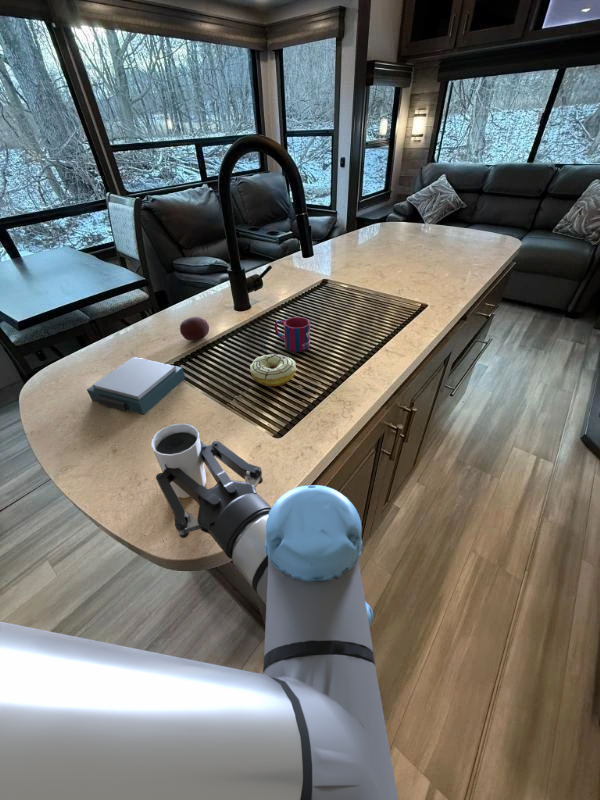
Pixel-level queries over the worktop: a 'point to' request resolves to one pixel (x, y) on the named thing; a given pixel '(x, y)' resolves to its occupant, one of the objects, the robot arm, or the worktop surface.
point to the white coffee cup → (180, 453)
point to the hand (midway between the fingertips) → (167, 437)
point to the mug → (295, 333)
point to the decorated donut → (273, 369)
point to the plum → (194, 328)
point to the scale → (136, 385)
